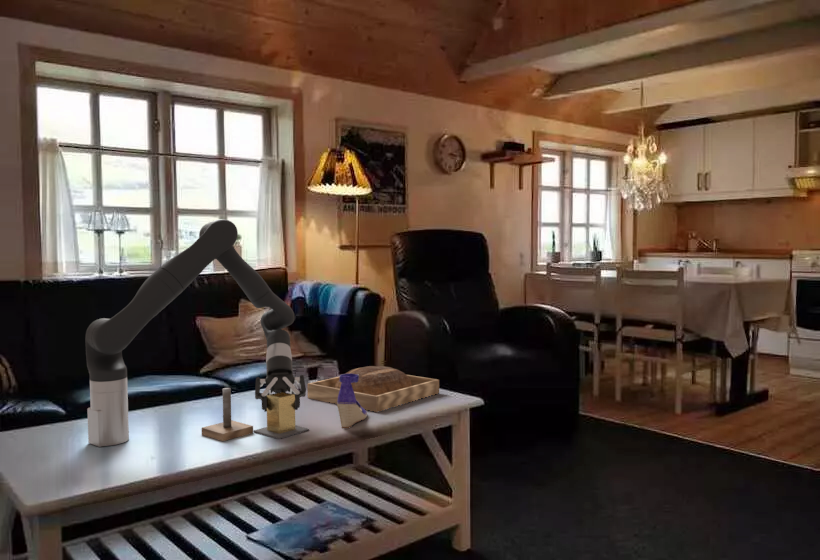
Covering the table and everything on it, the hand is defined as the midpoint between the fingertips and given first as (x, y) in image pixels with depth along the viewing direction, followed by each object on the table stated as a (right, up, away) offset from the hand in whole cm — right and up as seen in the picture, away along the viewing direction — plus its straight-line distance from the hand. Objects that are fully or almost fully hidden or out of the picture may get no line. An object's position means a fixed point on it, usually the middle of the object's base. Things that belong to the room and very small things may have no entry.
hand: (281, 409), depth 188 cm
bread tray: (+24, -4, +45) cm, 51 cm away
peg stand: (-15, -7, -1) cm, 16 cm away
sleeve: (0, -6, +2) cm, 6 cm away
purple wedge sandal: (+18, -6, +13) cm, 24 cm away
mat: (0, -7, +2) cm, 7 cm away
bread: (+23, -4, +48) cm, 54 cm away
